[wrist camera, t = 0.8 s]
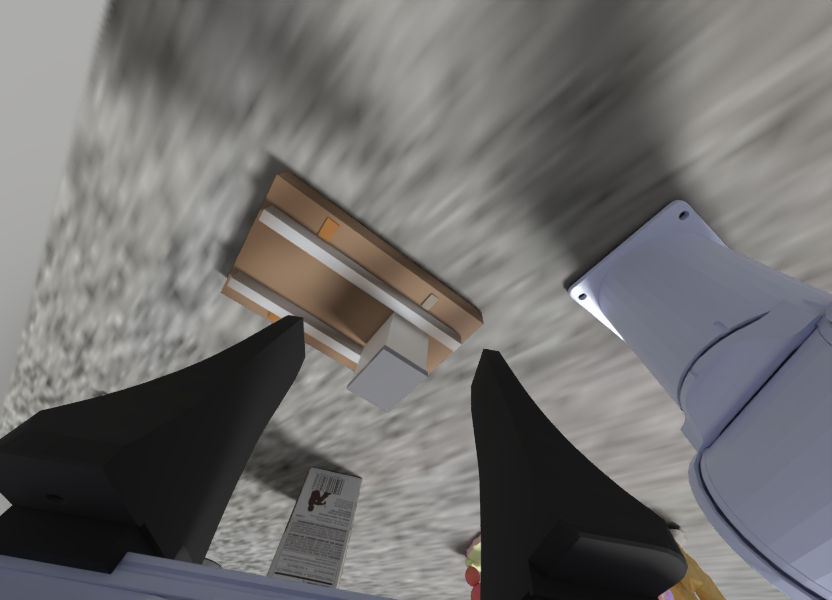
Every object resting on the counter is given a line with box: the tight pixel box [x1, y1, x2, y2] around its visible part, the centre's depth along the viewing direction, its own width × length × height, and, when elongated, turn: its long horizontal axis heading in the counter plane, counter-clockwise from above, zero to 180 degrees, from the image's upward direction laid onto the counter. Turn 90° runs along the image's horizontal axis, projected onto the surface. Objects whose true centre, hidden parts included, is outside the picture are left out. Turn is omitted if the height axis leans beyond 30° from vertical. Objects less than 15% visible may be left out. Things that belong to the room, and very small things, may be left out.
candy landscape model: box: [465, 529, 726, 600], centre depth 36 cm, size 25×24×9 cm
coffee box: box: [267, 467, 362, 589], centre depth 30 cm, size 9×6×16 cm
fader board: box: [221, 171, 484, 374], centre depth 22 cm, size 16×10×2 cm, turn 53°
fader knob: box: [347, 312, 429, 412], centre depth 21 cm, size 3×4×4 cm
